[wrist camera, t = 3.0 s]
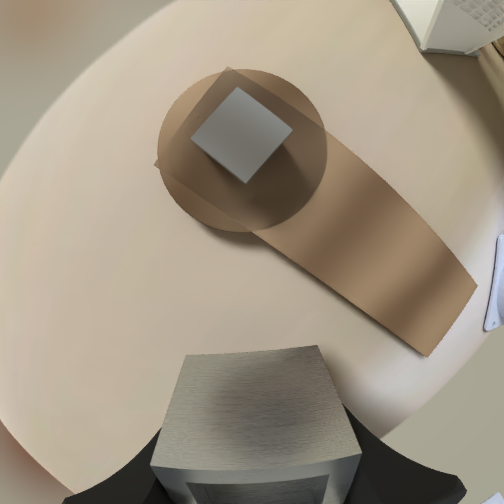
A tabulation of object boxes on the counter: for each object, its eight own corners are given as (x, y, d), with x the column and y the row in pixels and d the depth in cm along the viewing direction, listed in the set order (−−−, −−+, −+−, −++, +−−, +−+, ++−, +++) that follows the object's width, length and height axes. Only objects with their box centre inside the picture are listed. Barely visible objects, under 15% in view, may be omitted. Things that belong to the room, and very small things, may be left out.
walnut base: (471, 268, 15) (513, 287, 11) (408, 358, 17) (439, 394, 12) (225, 56, 12) (218, 12, 8) (138, 173, 14) (98, 169, 9)
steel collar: (317, 344, 11) (362, 452, 5) (312, 429, 12) (335, 520, 7) (186, 355, 11) (149, 465, 5) (207, 437, 13) (195, 529, 7)
